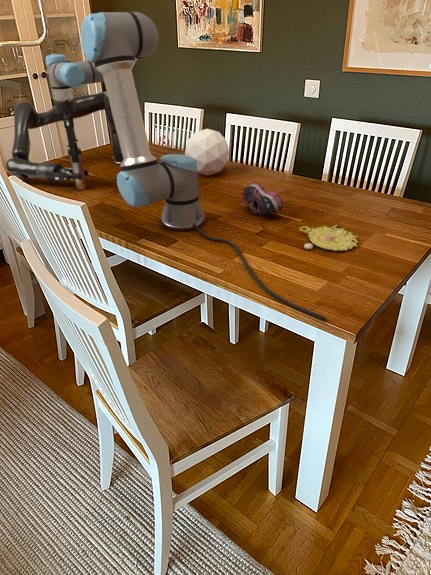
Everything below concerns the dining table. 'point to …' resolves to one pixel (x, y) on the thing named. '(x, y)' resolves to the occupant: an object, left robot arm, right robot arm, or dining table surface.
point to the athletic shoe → (261, 200)
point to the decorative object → (330, 238)
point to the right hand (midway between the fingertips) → (76, 160)
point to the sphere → (208, 151)
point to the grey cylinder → (79, 169)
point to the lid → (77, 150)
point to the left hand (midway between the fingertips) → (84, 175)
